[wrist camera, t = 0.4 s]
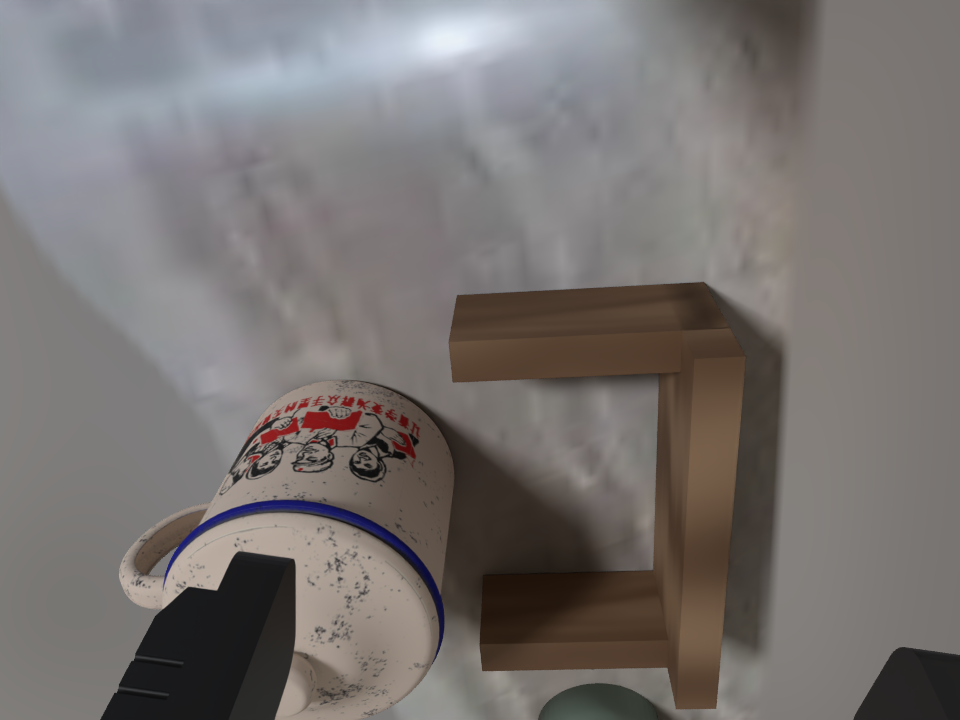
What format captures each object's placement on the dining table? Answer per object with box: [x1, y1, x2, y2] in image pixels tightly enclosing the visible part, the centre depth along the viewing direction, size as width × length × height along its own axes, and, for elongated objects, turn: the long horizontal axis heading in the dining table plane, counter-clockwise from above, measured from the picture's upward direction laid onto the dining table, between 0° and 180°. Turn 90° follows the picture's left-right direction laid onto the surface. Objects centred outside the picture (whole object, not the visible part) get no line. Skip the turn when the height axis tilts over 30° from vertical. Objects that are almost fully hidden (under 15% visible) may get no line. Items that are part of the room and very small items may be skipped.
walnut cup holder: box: [449, 282, 746, 709], centre depth 30 cm, size 15×9×6 cm, turn 4°
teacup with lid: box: [119, 380, 454, 720], centre depth 28 cm, size 12×9×12 cm
